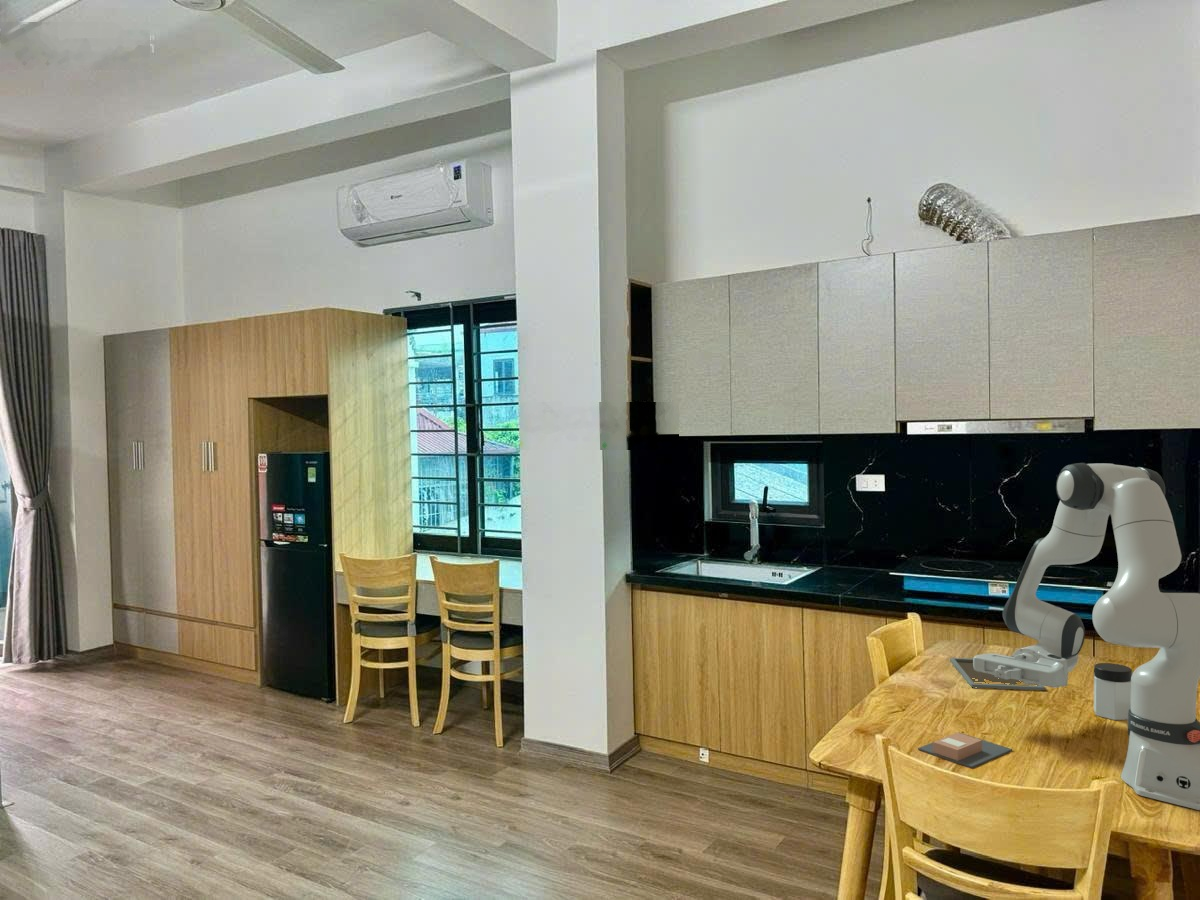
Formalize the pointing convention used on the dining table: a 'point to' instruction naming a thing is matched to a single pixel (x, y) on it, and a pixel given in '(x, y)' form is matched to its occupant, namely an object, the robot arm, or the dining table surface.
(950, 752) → the block
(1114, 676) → the jar
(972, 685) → the grey picture frame
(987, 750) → the mat
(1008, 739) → the dining table surface
